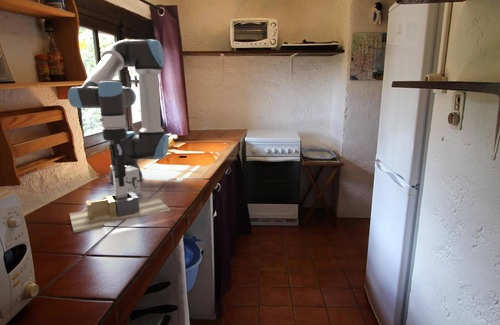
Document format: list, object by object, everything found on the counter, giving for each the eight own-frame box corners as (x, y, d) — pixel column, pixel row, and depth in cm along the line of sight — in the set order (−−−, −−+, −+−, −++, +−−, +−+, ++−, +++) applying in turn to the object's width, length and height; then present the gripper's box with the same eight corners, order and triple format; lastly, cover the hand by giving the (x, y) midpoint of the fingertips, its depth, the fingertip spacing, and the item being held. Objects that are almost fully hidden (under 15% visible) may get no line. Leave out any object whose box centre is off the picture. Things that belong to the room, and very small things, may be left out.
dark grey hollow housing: (113, 208, 126) (111, 194, 125) (134, 204, 130) (132, 190, 129) (118, 217, 118) (116, 202, 117) (140, 212, 122) (139, 198, 121)
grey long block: (113, 200, 123) (110, 165, 120) (126, 197, 125) (123, 163, 122) (116, 204, 119) (112, 168, 116) (129, 201, 122) (126, 166, 118)
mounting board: (69, 216, 122) (69, 213, 122) (158, 199, 138) (157, 197, 138) (73, 232, 109) (73, 229, 108) (171, 212, 125) (170, 209, 124)
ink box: (120, 194, 145) (117, 167, 142) (131, 191, 148) (128, 165, 146) (130, 198, 139) (128, 171, 136) (141, 195, 143) (139, 168, 140)
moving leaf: (86, 214, 121) (84, 199, 119) (112, 209, 125) (111, 195, 124) (89, 221, 114) (87, 206, 113) (116, 216, 119) (115, 201, 117)
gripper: (98, 125, 121) (105, 188, 127) (106, 131, 107) (114, 201, 113) (120, 124, 125) (126, 185, 130) (131, 129, 111) (137, 197, 117)
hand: (120, 192), depth 122 cm, fingers closed on grey long block, 4 cm apart
